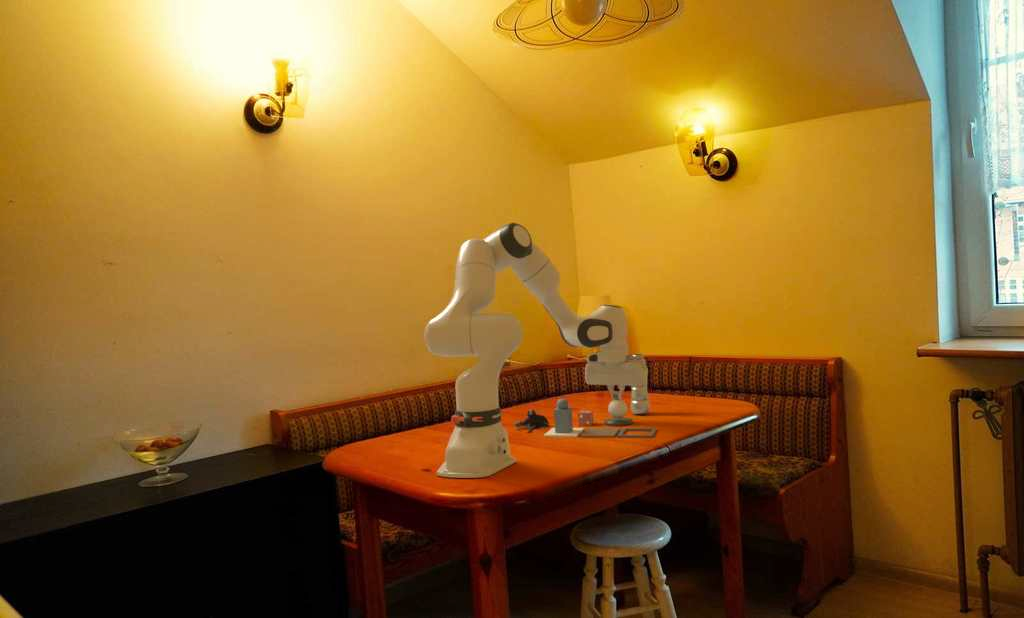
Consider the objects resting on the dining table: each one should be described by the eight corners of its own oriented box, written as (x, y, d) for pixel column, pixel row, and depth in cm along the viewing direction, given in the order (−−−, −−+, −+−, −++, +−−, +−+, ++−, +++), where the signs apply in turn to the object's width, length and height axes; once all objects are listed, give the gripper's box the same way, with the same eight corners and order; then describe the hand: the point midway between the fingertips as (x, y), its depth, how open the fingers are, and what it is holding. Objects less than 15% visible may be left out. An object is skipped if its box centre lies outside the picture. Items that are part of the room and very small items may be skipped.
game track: (652, 437, 203) (652, 435, 203) (544, 436, 213) (544, 434, 213) (656, 430, 213) (656, 428, 213) (552, 429, 223) (552, 427, 223)
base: (630, 426, 221) (630, 423, 221) (601, 426, 223) (601, 422, 223) (634, 420, 229) (634, 417, 229) (607, 420, 232) (606, 417, 232)
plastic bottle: (629, 416, 237) (626, 356, 236) (632, 412, 243) (629, 353, 243) (649, 416, 235) (646, 355, 234) (651, 412, 241) (648, 353, 241)
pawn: (569, 433, 214) (567, 399, 213) (555, 432, 215) (553, 399, 215) (572, 429, 218) (571, 396, 217) (558, 429, 219) (557, 397, 219)
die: (591, 425, 225) (590, 412, 225) (578, 425, 226) (577, 412, 226) (593, 423, 229) (592, 410, 229) (581, 423, 230) (580, 410, 230)
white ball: (626, 420, 223) (625, 400, 222) (607, 419, 224) (606, 401, 224) (629, 416, 228) (628, 397, 228) (610, 416, 230) (609, 397, 230)
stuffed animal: (539, 418, 237) (550, 402, 228) (546, 446, 232) (558, 430, 223) (505, 422, 233) (515, 406, 224) (512, 450, 228) (523, 435, 219)
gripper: (649, 354, 223) (651, 398, 223) (590, 354, 234) (592, 396, 234) (641, 357, 217) (644, 402, 218) (581, 356, 228) (584, 399, 229)
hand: (616, 399), depth 226 cm, fingers closed, pressing on white ball
